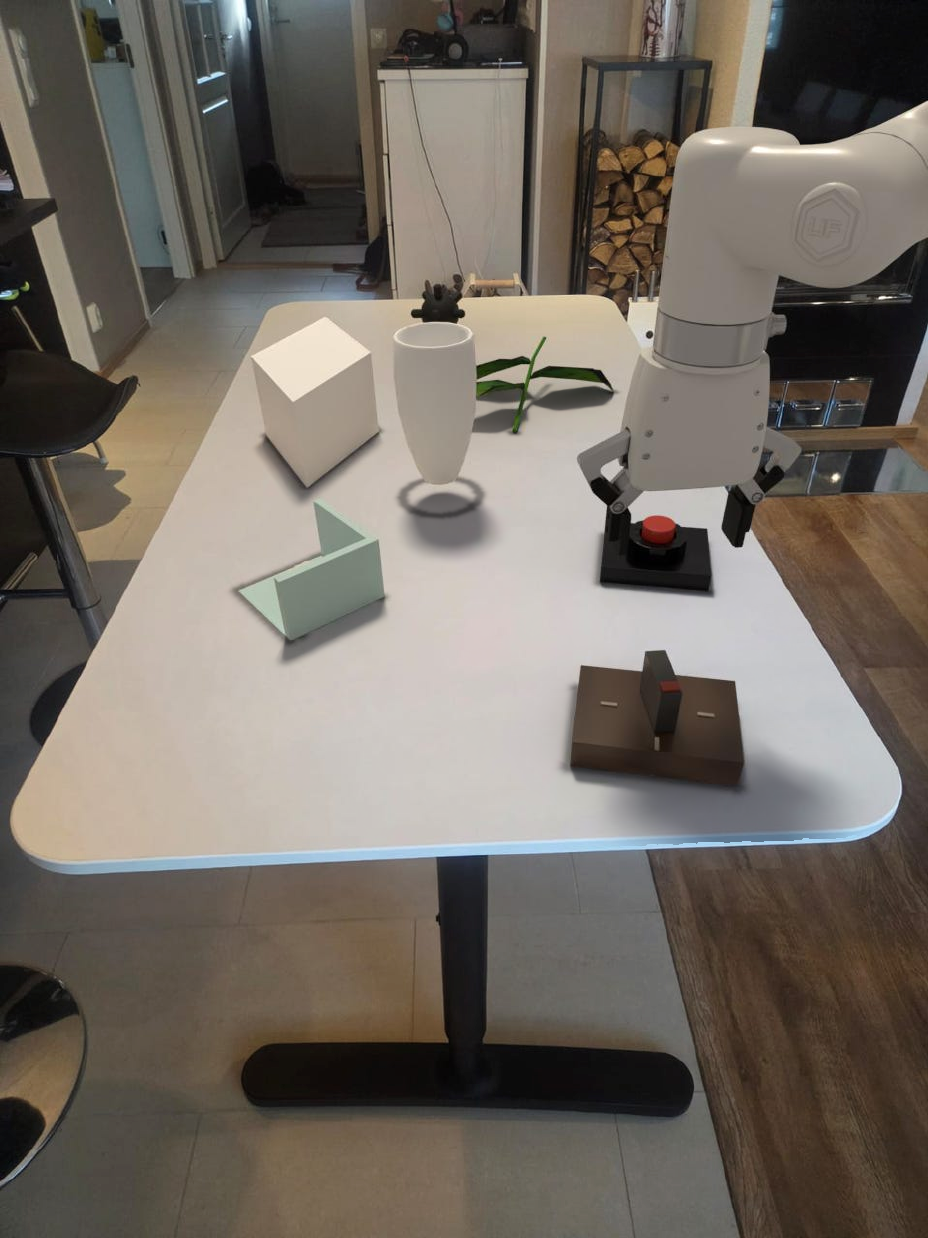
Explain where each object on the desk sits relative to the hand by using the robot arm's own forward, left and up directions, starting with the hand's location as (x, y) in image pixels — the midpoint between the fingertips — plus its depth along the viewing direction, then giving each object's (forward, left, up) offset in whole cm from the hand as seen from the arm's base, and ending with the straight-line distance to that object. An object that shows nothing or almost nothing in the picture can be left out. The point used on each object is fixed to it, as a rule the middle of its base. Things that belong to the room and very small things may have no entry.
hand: (674, 542), depth 66 cm
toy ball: (+42, -97, -17) cm, 107 cm away
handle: (0, +6, -13) cm, 15 cm away
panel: (0, +6, -17) cm, 18 cm away
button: (0, -22, -13) cm, 26 cm away
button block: (0, -22, -17) cm, 28 cm away
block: (+50, -51, -17) cm, 73 cm away
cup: (+28, -34, -17) cm, 47 cm away
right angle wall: (+38, -10, -17) cm, 43 cm away
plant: (+19, -66, -17) cm, 71 cm away
